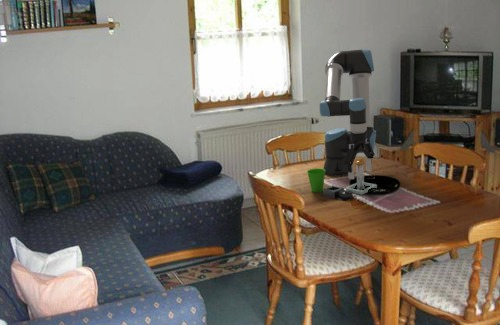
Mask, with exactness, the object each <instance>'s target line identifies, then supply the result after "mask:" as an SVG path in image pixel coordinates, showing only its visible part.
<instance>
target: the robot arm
mask: <svg viewBox="0 0 500 325" xmlns="http://www.w3.org/2000/svg"><path fill="white" fill-rule="evenodd" d="M374 71H375V67H374V60H373V54H372V51H371V49H362V48H361V49H352V50H341V51H338V52H336V53H335V54H333V55H332V56H331V57H330V58H329V59H328V61H327V62H326V64H325V68H324V73H325V75H326V80H325V81H326V82H325V91H324V92H325V93H324V100H322V101H320V102H319V114H320V116H321V117H341V116H342V117H344V116H345V117H346V116H349V125H350V126H349V127H350V128H349V129H350V130H349V131H347V129H346V128H344V127H343V128H342V127H338V128H334V129H330V130H328V131H326V132H325V133H324V144H325V145H324V147H325V148H324V150H325V151H324V152H325V160H324V165H323V168H322V169H325V175H326V176H330V177H342V176H343V177H344V176H348V179H350V180H355V170H354V169H355V166H354V165H353V164H354V161H355V159H356V157H357V155H358V154H364V155H365V171H366V172H369V173H372V170H373V169H372V161H373V160H372V159H374V156H375V153H374V151H375V146H376V139H377V138H376V137H377V130H375V129H374V126H373V125H372V124H371V111H370V110H371V108H370V80H369V79H370V78H371V76H372V73H373V72H374ZM343 74H348V76H349V78H350V79H351V83H352V85H351V86H352V88H351V89H352V98H351V99H342V100H341V90H342V88H341V85H342V76H343Z"/></svg>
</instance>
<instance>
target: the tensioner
mask: <svg viewBox="0 0 500 325" xmlns="http://www.w3.org/2000/svg"><path fill="white" fill-rule="evenodd" d="M320 197H325V198H328V199H334V200H338V201H341V202H342V201H343V202H347V201H350V200H351V199H354V198H357V195H356V194H354V193H353V192H352V191H348V189H345V188H344V187H341V186H337V185H333V184H332V185H330V186H328V187H325V188H323V191H322V194H321V195H320Z"/></svg>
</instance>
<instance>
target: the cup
mask: <svg viewBox="0 0 500 325" xmlns="http://www.w3.org/2000/svg"><path fill="white" fill-rule="evenodd" d="M306 173H307V176H308V179H309V186H310V189H311V193H321V192H322V193H323V189H324V184H325V169H323V168H321V167H319V168H318V167H317V168H310V169H308V170H306Z"/></svg>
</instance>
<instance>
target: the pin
mask: <svg viewBox="0 0 500 325" xmlns="http://www.w3.org/2000/svg"><path fill="white" fill-rule="evenodd" d="M364 164H365V161H364V160H362V159H361V160H360V159H359V160H356V161H355V168H356V183H357V187H356V188H357V189H356V190H360V191H361V190H362V189H365V186H364V182H365V168H364V167H365V166H364Z"/></svg>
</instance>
